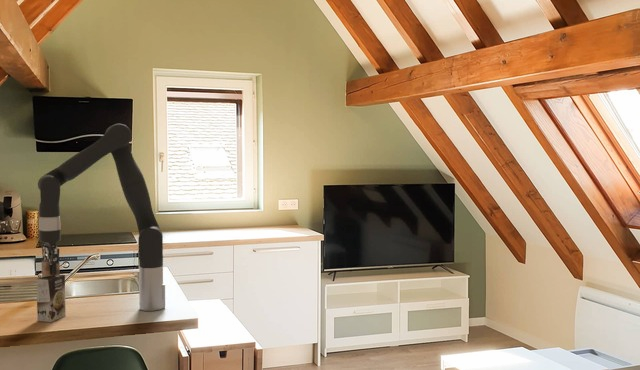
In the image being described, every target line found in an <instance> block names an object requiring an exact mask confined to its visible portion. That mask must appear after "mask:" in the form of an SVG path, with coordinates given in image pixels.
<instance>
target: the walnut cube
mask: <svg viewBox="0 0 640 370" xmlns="http://www.w3.org/2000/svg"><path fill="white" fill-rule="evenodd" d="M53 261H55V259H53ZM56 269H57V274H56V275H61V272H60V271H61V270H60V262H59V263H58V264H56ZM41 275H42V276H43V277H44V276H54V275H50V264H49V260H47V261H44V260H42V261H41Z"/></svg>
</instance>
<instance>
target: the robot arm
mask: <svg viewBox="0 0 640 370" xmlns="http://www.w3.org/2000/svg"><path fill="white" fill-rule="evenodd" d="M132 135H133V134H132V130H131V129H130V127H128V126H127V125H126V124H122V123H115V124H113V125H110V126H109V127H108V128H106V130H105V132H104V134H103V135H102V137H100V138H99V139H98V140H96V141H95V142H94V143H92V144H90V145H89V146H88V147H86V148H83V150H81V151H79V152H77V153H76V154H74V155H73V156H72V157H70V158H68V159H67V160H65V161H64V162H63V163H61V164H60V165H59V166H57V167H55V168H54V169H52V170H50V171H48V172H47V173H44V174H43V176H41V177H40V178H39V179H38V181H37V187H38V190H39V193H40V203H39V207H38V209H39V212H38V213H39V217H38V218H39V219H38V241H39V242H40V243H43V244H41V253H42V261H47V260H49V264H50V275H56V274H57V269H56V264H58V263H59V264H60V248H59V247H58V246H57V242H60V241H61V240H62V230H61V229H62V228H61V227H62V226H61V225H62V224H61V216H60V214H61V213H60V209H61V208H60V200H61V186H63V185H65V184H66V183H68V182H70V181H72V180H74V179H76V178H77V177H78V176H80V175H81V174H83V173H84V172H85V171H87V170H88V169H90V168H91V167H92V166H93V165H94V164H96V163H97V162H98V161H100V160H101V159H102V158H103V159H104V157H106V156H107V155H109V154H111V156H112V158H113V161H114V164H115V167H116V173H117V176H118V178H119V179H118V180H119V183H120V185H121V190H122V191H123V192H122V193H123V195H124V198H125V200H126V203H127V204H128V207H129V208H130V210H131V212H132V214H133V216H134V219H135V221H136V226H137V230H138V231H137V232H138V240H137V243H138V245H137V246H138V266H139V267H138V268H139V270H138V271H139V273H138V275H139V276H138V277H139V278H138V279H139V280H138V281H139V283H138V285H139V286H138V287H139V290H138V291H139V310H141V311H144V312H145V311H146V312H152V311H153V312H154V311H160V310H162V309H165V308H166V285H165V284H164V271H163V270H164V255H163V254H164V252H163V251H164V247H163V246H164V243H163V242H164V241H163V235H164V234H163V232H162V230H161V227H160V224H159V223H158V221H157V219H156V216H155V214H154V210H153V208H152V207H153V206H152V201H151V197H150V193H149V190H148V187H147V182H146V180H145V177H144V174H143V172H142V171H141V169H140V167H139V166H138V164H137V162H136V161H135V158H134V156H133V153H132V149H131V146H130V143H131V140H132ZM53 260H55V261H53Z"/></svg>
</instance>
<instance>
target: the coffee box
mask: <svg viewBox="0 0 640 370" xmlns="http://www.w3.org/2000/svg"><path fill="white" fill-rule="evenodd" d="M36 313H37V314H36V316H37V317H36V319H37V320H36V321H37V322H46V323H53V322H55V321H57V320H59V319H61V318H64V317H65V316H66V274H60V275H54V276H44V275H43V276H41V277H39V278H36Z"/></svg>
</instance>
